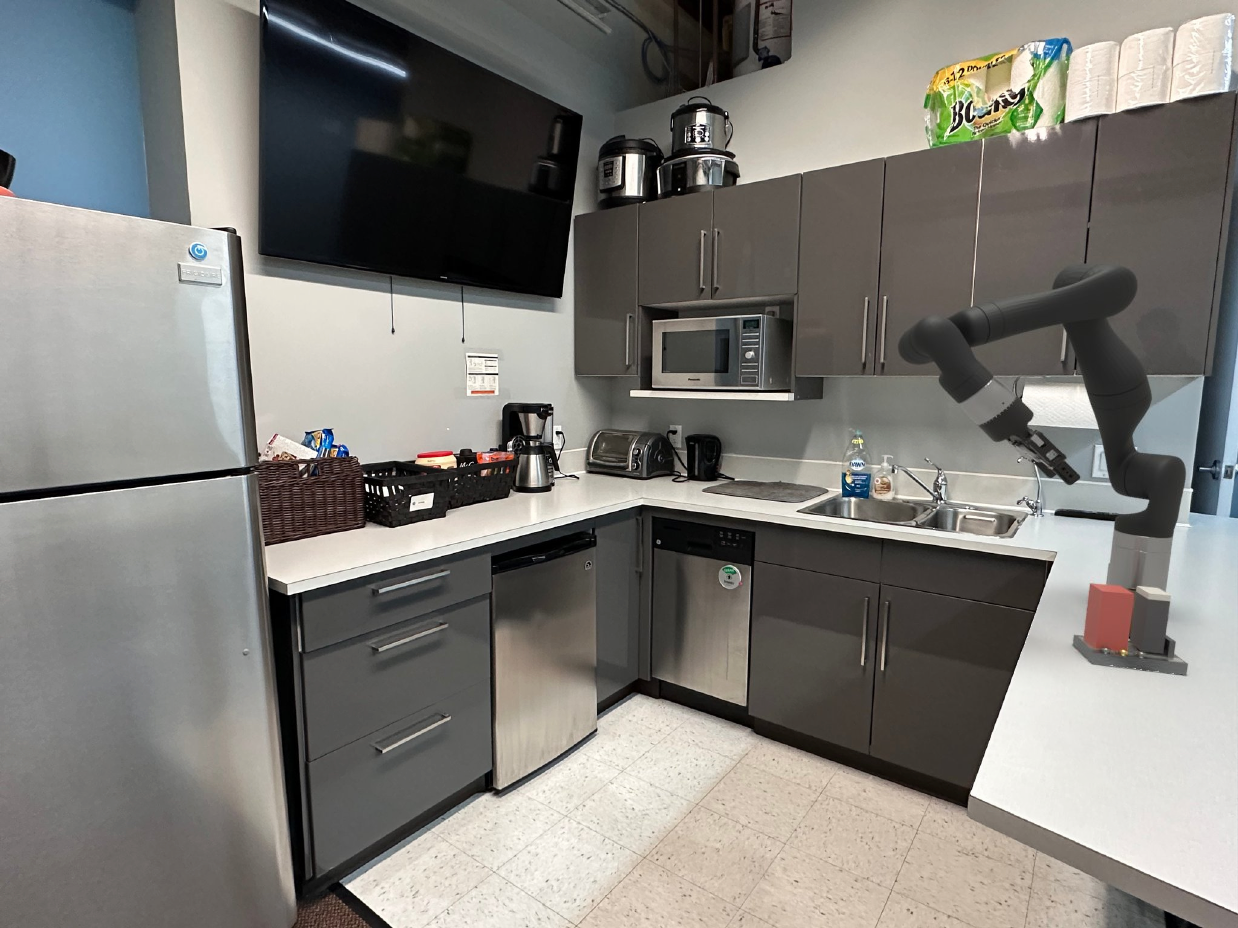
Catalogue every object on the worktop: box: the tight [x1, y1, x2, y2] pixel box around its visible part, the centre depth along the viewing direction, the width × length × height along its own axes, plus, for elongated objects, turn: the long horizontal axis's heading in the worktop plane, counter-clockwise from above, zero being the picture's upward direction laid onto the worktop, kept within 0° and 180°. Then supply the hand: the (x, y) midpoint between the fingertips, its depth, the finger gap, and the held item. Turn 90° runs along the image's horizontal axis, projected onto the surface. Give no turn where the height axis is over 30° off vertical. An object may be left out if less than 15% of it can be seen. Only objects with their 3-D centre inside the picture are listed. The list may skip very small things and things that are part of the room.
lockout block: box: [1083, 582, 1134, 651], centre depth 106 cm, size 4×4×10 cm
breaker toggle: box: [1129, 586, 1172, 654], centre depth 104 cm, size 3×4×10 cm
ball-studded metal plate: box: [1072, 634, 1189, 676], centre depth 106 cm, size 13×8×5 cm, turn 73°
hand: (1064, 478), depth 105 cm, fingers open, 8 cm apart
